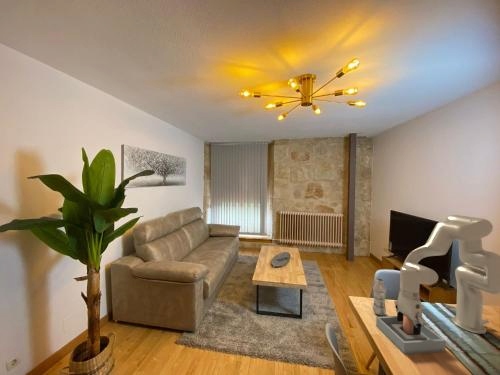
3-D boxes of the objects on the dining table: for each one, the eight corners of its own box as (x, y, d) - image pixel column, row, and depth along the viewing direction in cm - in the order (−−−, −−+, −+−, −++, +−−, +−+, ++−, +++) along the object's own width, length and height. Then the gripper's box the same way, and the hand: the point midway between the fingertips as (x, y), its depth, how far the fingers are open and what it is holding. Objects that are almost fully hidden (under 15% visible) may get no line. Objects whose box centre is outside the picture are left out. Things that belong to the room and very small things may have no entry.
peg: (408, 332, 105) (408, 313, 105) (415, 338, 101) (415, 318, 101) (400, 333, 105) (401, 313, 104) (407, 339, 101) (408, 318, 100)
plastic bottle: (388, 318, 118) (388, 282, 117) (374, 316, 119) (375, 281, 119) (383, 311, 124) (384, 277, 124) (370, 309, 126) (371, 276, 125)
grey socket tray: (411, 324, 113) (411, 315, 113) (445, 351, 95) (445, 340, 95) (376, 326, 111) (376, 316, 111) (403, 353, 93) (404, 342, 93)
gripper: (433, 302, 94) (432, 340, 94) (402, 284, 111) (401, 315, 112) (417, 303, 93) (416, 341, 94) (388, 284, 111) (387, 316, 111)
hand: (408, 327), depth 103 cm, fingers open, 9 cm apart
